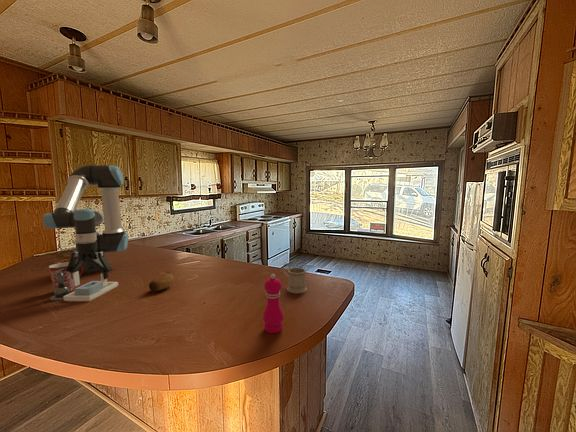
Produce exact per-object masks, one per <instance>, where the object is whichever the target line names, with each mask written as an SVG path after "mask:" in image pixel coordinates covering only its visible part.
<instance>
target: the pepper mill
mask: <svg viewBox="0 0 576 432" xmlns="http://www.w3.org/2000/svg"><path fill="white" fill-rule="evenodd" d="M263 287H264V289H265V296H266V298H267V303H266V306H265V309H264V311H263V314H262V320H263V322H264V331H265V332H267V333H269V334H277V333H280V332H281V331H282V330H283V321H284V312H283V309H282V307H281V306H280V302H279V301H280V297H281V289H282V281H281V280H280V279H279V278H277V277H276V274H274V273H272V274H270V278H267V279H266V280H265V282H264V286H263Z"/></svg>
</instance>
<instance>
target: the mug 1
mask: <svg viewBox="0 0 576 432" xmlns="http://www.w3.org/2000/svg"><path fill="white" fill-rule="evenodd" d="M69 262H70V261H69ZM69 262H68V261H67V262H58V263H56V264H55V263H54V264H51V265H49V266H48V268H49V273H50V279H51V282H52V283H51V284H52V290H53V293H54V294H55V291H54V288H55V287H57V286H58V279H57V274H54V271H57V270H60V269H67V267H68V264H69ZM79 268H80V271H79V278H80V277H81V276H82V275H83V274H82V266H80V267H79ZM63 279H64V285H68V289H69V292H73V291H75V287H74V286H73V279H72V278H71V273H70V272H69V271H68V272H67V271H64V272H63Z"/></svg>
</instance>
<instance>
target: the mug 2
mask: <svg viewBox="0 0 576 432" xmlns="http://www.w3.org/2000/svg"><path fill="white" fill-rule="evenodd" d="M285 266H288V268H287V269H288V271H287V272H288V274H287V272H286V271H285ZM282 271H283V273H284V275H286V277H288V287H287V288H286V290H287V292H289V293H291V294H292V293H293V294H304V293H306V292H307V290H308V288H307V286H306V269H305V268H302V267H293V268H292V267H291V266H290V262H285V263H284V264H283V265H282Z"/></svg>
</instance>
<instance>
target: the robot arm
mask: <svg viewBox="0 0 576 432" xmlns="http://www.w3.org/2000/svg"><path fill="white" fill-rule="evenodd" d="M66 181H67V184H66V186H65V189H64V191H63V192H62V195H61V197H60V198H59V201H58V203H57V204H56V207H55V209H54V211H53V212H46V213H45V214H44V215H43V216H42V223H43V225H44V227H45V228H46V229H57V230H58V229H69V228H70V229H71V228H74V230H75V251H74V252H73V251H72V252H70V254H71V255H70V259H69V264H68V267H67V269H66V271H67V272H68V271H69V272H70V273H71V278H72V279H73V286H74V288H75V287H77V286H79V285H80V286H81V282H80V277H79V271H80V268H79V267H80V266H82V274H81V275H88V274H94V273H98V272H100V281H101V284H102V287H104V286H106V285H108V284H107V282H108V279H109V272H111V271H112V270H113V268H112V265H110V263H109V260H108V259H107V258H106V256H105V253H118V252H124V251H126V250H127V248H128V243H129V233H128V232H126V230H125V229H124V228H123V227H122V219H121V218H122V217H121V209H120V207H121V205H120V197H119V190H120V189H121V188H122V187H121V186H123V185H124V176H123V172H122V170H121V168H120V167H119V166H117V165H111V164H110V165H107V164H105V165H104V164H100V165H99V164H86V165H83V166H80V167H78V168H76V169H75V170H73V171H72V172H71V173H70V174H69V175H68V177H67V179H66ZM90 185H91V186H92V185H95V186H97V189H99V190H100V194H101V202H102V204H101V205H102V213H101V212H100V211H97V210H94V209H93V208H79V209H77V208H78V206H79V204H80V200H81V198H82V196H83V194H84V191H85V189H87V188H89V186H90ZM103 222H104V229H103V230H102V231H101V232H102V234H101V233H100V231H97V228H96V227H98V226H100V225H102V224H103Z"/></svg>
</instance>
